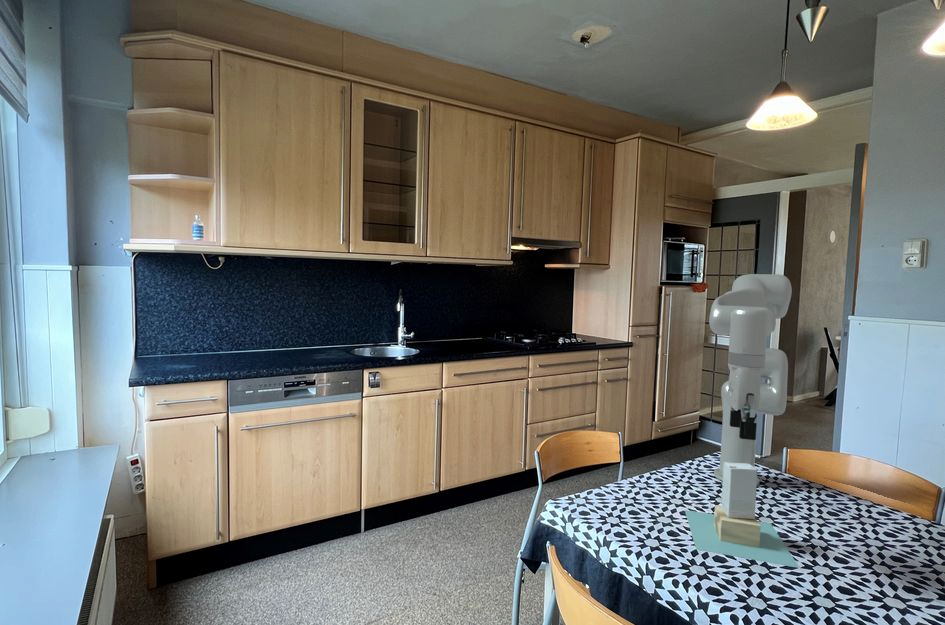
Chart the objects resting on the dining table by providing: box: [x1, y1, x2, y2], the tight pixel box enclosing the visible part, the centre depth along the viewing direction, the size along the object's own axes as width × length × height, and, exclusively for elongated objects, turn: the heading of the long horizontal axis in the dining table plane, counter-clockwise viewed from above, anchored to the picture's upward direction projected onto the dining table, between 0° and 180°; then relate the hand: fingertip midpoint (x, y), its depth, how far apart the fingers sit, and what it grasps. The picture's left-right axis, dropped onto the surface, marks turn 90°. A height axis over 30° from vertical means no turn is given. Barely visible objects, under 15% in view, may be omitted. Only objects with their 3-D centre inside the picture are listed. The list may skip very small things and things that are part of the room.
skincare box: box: [721, 462, 758, 519], centre depth 111 cm, size 6×4×12 cm
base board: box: [684, 509, 800, 569], centre depth 112 cm, size 20×20×1 cm
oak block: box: [714, 504, 761, 547], centre depth 112 cm, size 8×8×5 cm
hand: (741, 432), depth 111 cm, fingers open, 9 cm apart
